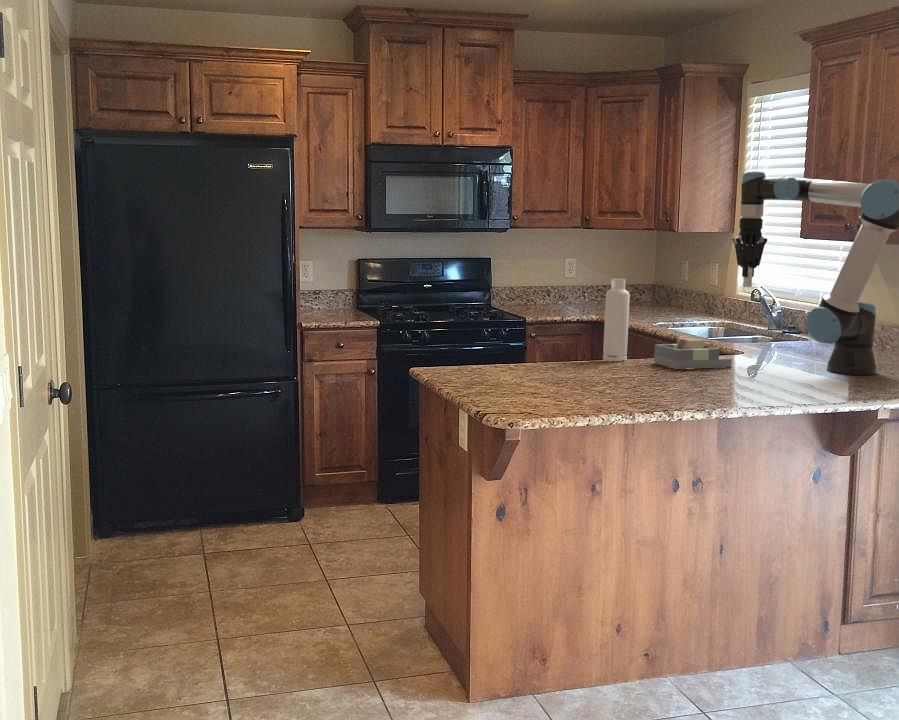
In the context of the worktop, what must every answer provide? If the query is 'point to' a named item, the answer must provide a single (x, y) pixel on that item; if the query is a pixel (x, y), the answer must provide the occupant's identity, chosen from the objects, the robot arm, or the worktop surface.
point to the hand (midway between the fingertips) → (747, 286)
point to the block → (689, 343)
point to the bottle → (616, 321)
